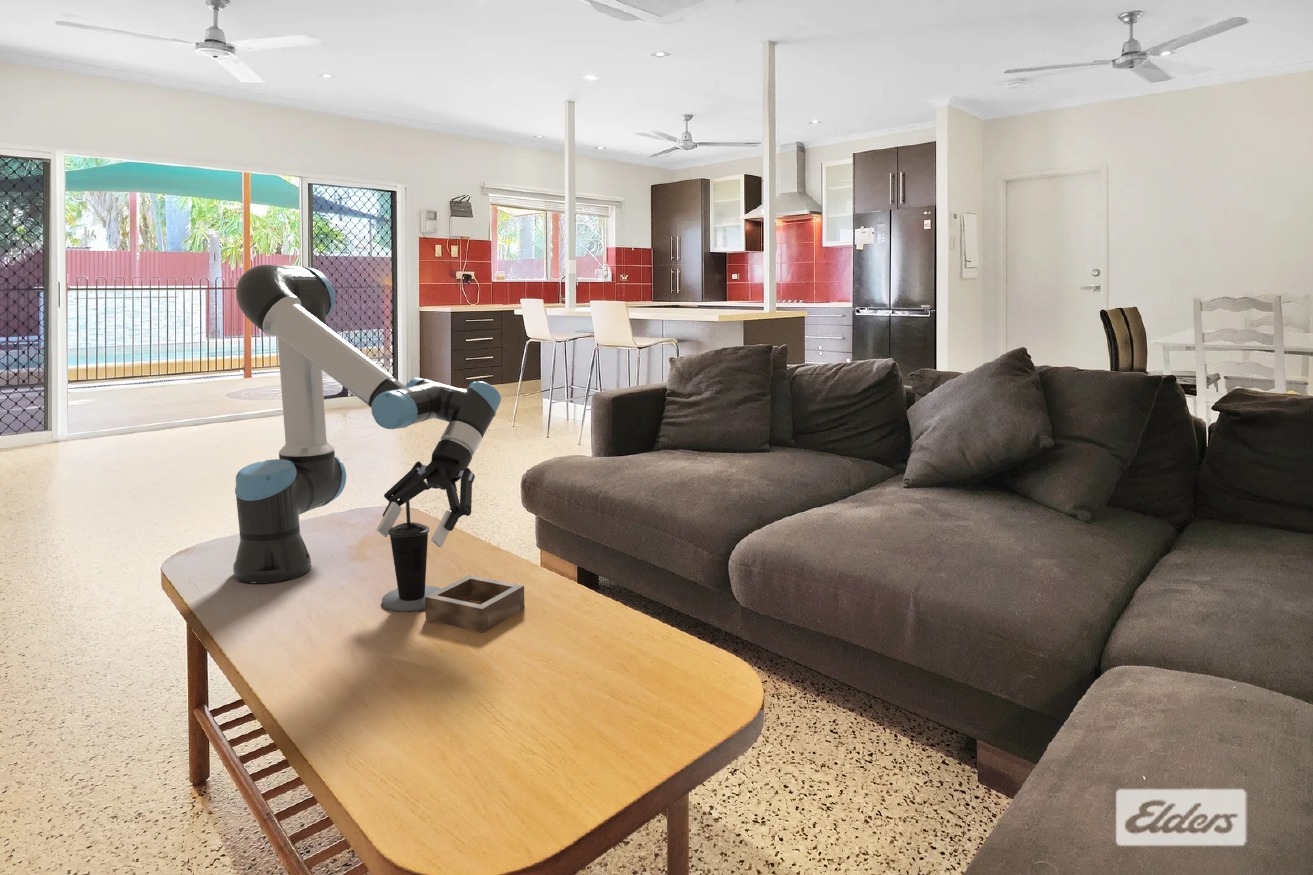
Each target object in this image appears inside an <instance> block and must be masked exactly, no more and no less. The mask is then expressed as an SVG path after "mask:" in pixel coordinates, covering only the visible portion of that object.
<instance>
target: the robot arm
mask: <svg viewBox="0 0 1313 875" xmlns="http://www.w3.org/2000/svg"><path fill="white" fill-rule="evenodd" d="M235 295H236V301H237V304H238V307H239V309H240V310H241V312H242V313H243V315H244V316H245V317H246V318H247V320H249V322H251V323H252V324H253V325H255V326H256V327H257V328H258V329H260V331H262V332H263V333H265V334H266V335H268V336H271V337H272V336H276V337H277V348H278V362H279V363H278V364H279V377H280V387H281V388H280V390H281V401H282V402H281V404H282V415H283V426H284V427H283V428H284V439H285V440H284V441H285V442H284V443H285V444H284V446H282V447H281V449H280V450H278V458H277V459H276V458H275V459H274V458H273V459H267V460H264V461H257V462H253V463H250V464H247V465H246V466H244V467H242V468H241V469H239V470H238V472H237V473H236V476H235V488H234V493H235V498H236V507H237V508H236V509H237V518H238V527H239V529H238V530H239V543H238V548H237V552H236V556H235V562H234V563H233V565H232V566H233V577H235V578H236V579H238V580H240V581H239V582H241V581H243V582H242V583H245V582H254V583H253V584H266V583H265V582H272V583H278V582H284V581H288V580H289V581H290V580H292V579H295V578H298V577H300V576H303V575H304V574H306V573H308V572H309V571H310V570H311V569H312V560H311V559H312V558H311V556H310V553H309V551H308V548H307V546H306V544H305V542H304V539H303V538H302V535H301V529H300V528H301V527H300V515H302V514H304V513H307V512H309V511H312V510H314V509H317V508H321V507H324V506H327V505H328V504H330V503H331V502H333V501H335V499H337V498H338V497H339V496H340V495H341V494H342V492H343V491H344V489H345V488H346V487H345V486H346V484H347V472H346V471H347V470H346V467H345V465H344V463H343V462H341V461H340V460H341V459H340V458H339V457H338V455H336V454H335V447H334V446H332V445H331V443H329V442H328V441H327V440H328V439H327V428H326V427H327V426H326V412H325V411H326V410H325V394H324V379H323V372H325V374H327V375H328V376H330V377H331V378H332V379H333V380H335V381H336V382H337V383H338V384H340V385H341V386H342V387H343V388H345V389H346V390H347V391H349V392H350V393H352V394H353V395H354V396H356V398H358V399H359V400H360V401H362V402H363V403H364V404H366V405H367V406H369V408H371V415H372V417H373V419H374V421H375V423H376V424H378V426H380V427H382V429H385V430H396V429H397V430H398V429H404V428H407V427H409V426H412V425H414V424H418V423H422V422H425V421H429V420H431V419H437V420H441V421H444V422H448V424H447V426H446V428H445V429H444V431H443V433H442V435H441V437H440V440H439V441H438V443H437V444H436V445H435V447H434V449H433V451H432V454H431V461H430V462H429V463H428V464H427V465H426V464H423V463H422V462H421V461H419V460H418V461H416V462H415V463H414V464H413V466H412V468H411V469H410V471H408V472H407V473H406V474H405V475H403V477H402V478H400V479H399V480H398V481H397V482H396V483H395V484H394V485H393V486H391V488H390V489H388V490H387V491H386V492H385V493H384V495H383V497H384V498H385V499H386V500H387V501H388V504H387V506H386V507H385V510H384V511H383V513H382V518H381V520H380V522H379V524H378V526H377V527H376V529H375V530H376V531H377V532H378V533H379V534H380V535H381V536H382V537H385V538H387V537H388V535H389V534H388V531H389V529H391V528H393V527H394V525H395V523H396V521H397V519H398V517H399V516H400V514H401V512H402V510H403V508H402V507H401V506H403V505H405V504H406V497H409V501H411V500H412V499H413V498H415V497H417V496H418V495H419V494H421V493H422V492H424V491H428V490H430V489H437V490H438V489H439V490H442V491H446V496H447V500H448V505H449V508H448V509H449V510H445V512H444V513H443V516H442V518H441V520H440V522H439V523H438V525H437V527H436V530H435V531H434V533H433V535H432V537H431V538H430V541H431V542H432V543H434V545H436V546H437V547H438V548H442V547H443V545H444V543H445V540H446V539H447V537H448V535H449V533H450V532H452V531H453V530H454V528H455V526H456V524H457V523H458V521H459V519H460V518H462V517H463V516H466V517H469V516H471V514H472V500H473V498H472V497H473V495H472V494H473V483H474V481H475V477H476V475H475V474H474V473H473V471H472V470H471V469H470V468H469V465H470V464H471V461H472V459H473V456H474V455H475V453H476V451H477V450H478V448H479V446H480V444H481V442H482V440H483V438H484V437H485V436H484V435H485V434H486V432H487V430H488V428H489V427H490V425H491V422H492V421H493V419H494V417H496V415H497V411H498V409H499V406H500V404H501V401H502V397H501V393H500V392H499V391H498V389H497V388H495V387H494V386H493V385H491V384H490V383H488V382H485V381H480V380H479V381H473V382H471V383H470V384H469V386H468V387H467V388H466V389H465V388H462V387H461V388H459V387H455V386H453V385H449V384H445V383H441V382H438V381H435V380H432V379H429V378H426V379H425V378H421V377H413V378H411V379H410V381H409V382H407V383H406V385H404V383H402V382H400V381H399V380H397V378H395V377H394V376H393V375H391V374H390V373H389V372H387V371H386V370H385V369H383V368H382V367H380V366H379V365H378V364H377V363H375V361H373V360H372V359H370V358H369V357H368V356H366V354H364V353H362V351H360V350H358V348H356V347H355V346H353V345H352V344H351V343H350V342H348V341H347V340H346V339H344V338H343V337H342V336H340V335H339V334H337V333H336V332H335V331H334V330H333V329H331V327H329V326H327V316H329V315H330V314H331V311H332V310H334V307H335V303H336V295H335V290H334V287H333V284H332V283H331V281H330V280H329V278H328V277H327V276H326V275H324V273H323V272H322V271H319V270H318V269H316V268H314V267H309V266H303V265H299V264H298V265H276V264H275V265H272V264H260V265H256V266H254V267H250V269H247V270H246V271H245V272H244V273H243V274H242V275H241V277H240V278H239V280H238V282H237V285H236V290H235ZM459 480H460V485H459V486H460V491H459V493H460V494H459V496H458V488H457V484H456V483H457V482H458V481H459ZM235 578H234V579H235ZM236 579H235V580H236ZM238 580H237V581H238ZM255 582H256V583H255ZM263 582H264V583H263Z"/></svg>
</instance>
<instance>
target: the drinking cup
mask: <svg viewBox="0 0 1313 875" xmlns="http://www.w3.org/2000/svg"><path fill="white" fill-rule="evenodd" d="M410 506H411V505H410V500H409V497H406V503H405V512H406V515H405V516H406V522H402V523H399V524H397V525H395V526H393V527H392V528H391V529H389V531H388V535H389V538H390V544H391V550H392V552H391V553H392V558H393V564H394V572H395V579H396V585H397V589H398V593H399V598H400V599H401V600H404V601H413V600H418V599H421V598H423V597H424V596H425V586H426V578H427V577H426V575H427V558H428V539H429V533H430V527H429V526H428V525H426V524H423V523H420V522H411V507H410Z"/></svg>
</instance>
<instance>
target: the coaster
mask: <svg viewBox="0 0 1313 875" xmlns="http://www.w3.org/2000/svg"><path fill="white" fill-rule="evenodd" d="M440 589H442V588H441V587H437V586H433V585H425V596H427V595H429V594H431V593H434V592H436V591H438V590H440ZM425 596H424V597H423V598H421V599H418V600H413V601H404V600H401V599H400V598H399V593H398V588H396V589H393V590H391V591H389V592H387V593H385V594H383V596H382V598H381V603H382V604H381V605H382V607H383V608H385V609H386V610H387V611H390V612H391V611H393V612H399V613H415V612H423V611H425Z"/></svg>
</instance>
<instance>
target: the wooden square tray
mask: <svg viewBox="0 0 1313 875" xmlns="http://www.w3.org/2000/svg"><path fill="white" fill-rule="evenodd" d="M472 601H473V602H472ZM474 602H478V603H474ZM479 603H481V604H479ZM523 608H524V609H525V585H522V584H517V583H512V582H508V581H502V580H496V579H492V578H486V577H480V576H475V575H472V574H469V575H468V574H467V576H465V577H462V578H460V579H459V580H456V581H454V582H452V583H450V584H448V585H446V586H444V587H442V588H441V589H440V590H438V591H436V592H434V593H431V594H429V595H427V596H425V610H424V611H425V612H424V613H425V620H426V621H430V622H435V623H439V624H442V625H443V624H444V625H446V626H447V625H448V626H452V627H457V628H460V629H464V630H465V629H466V630H469V631H474V632H478V633H482V634H483V633H485V632H487V631H488V630H490V629H492V628H494V627H496V626H497V625H499V624H500V623H502V622H503V621H505V620H507V619H509V618H510V617H512V616H514V615H516V613H518V612H520V611H522V610H523Z"/></svg>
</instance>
